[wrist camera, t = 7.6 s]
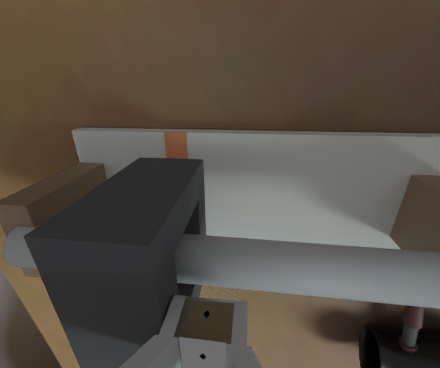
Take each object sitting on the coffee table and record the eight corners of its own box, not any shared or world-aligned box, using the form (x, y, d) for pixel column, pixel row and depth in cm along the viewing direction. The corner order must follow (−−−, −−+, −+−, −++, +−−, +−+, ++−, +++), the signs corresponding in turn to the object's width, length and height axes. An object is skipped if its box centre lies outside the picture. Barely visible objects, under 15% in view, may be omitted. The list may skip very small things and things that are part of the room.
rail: (445, 133, 15) (700, 203, 7) (398, 253, 19) (517, 393, 11) (82, 127, 18) (-71, 168, 10) (108, 232, 22) (17, 326, 14)
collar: (203, 159, 14) (149, 246, 7) (207, 262, 17) (174, 397, 10) (139, 157, 14) (23, 236, 7) (155, 258, 18) (87, 383, 10)
